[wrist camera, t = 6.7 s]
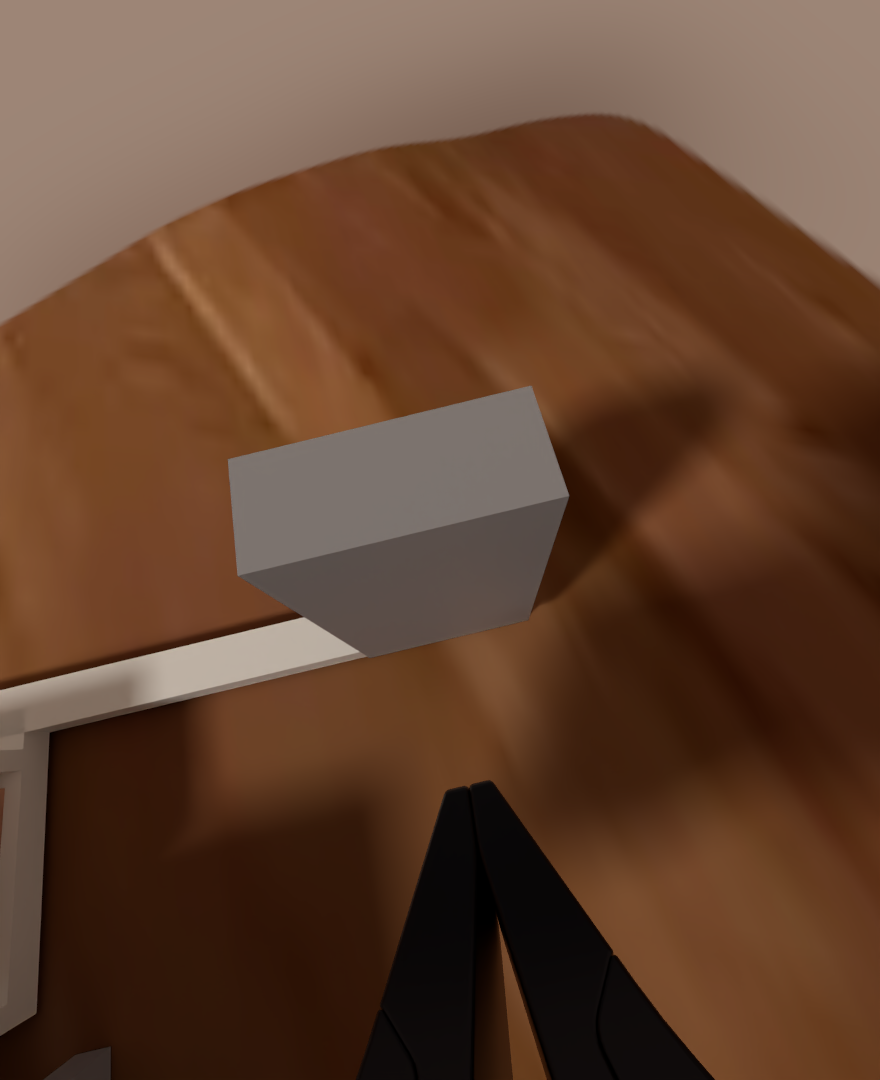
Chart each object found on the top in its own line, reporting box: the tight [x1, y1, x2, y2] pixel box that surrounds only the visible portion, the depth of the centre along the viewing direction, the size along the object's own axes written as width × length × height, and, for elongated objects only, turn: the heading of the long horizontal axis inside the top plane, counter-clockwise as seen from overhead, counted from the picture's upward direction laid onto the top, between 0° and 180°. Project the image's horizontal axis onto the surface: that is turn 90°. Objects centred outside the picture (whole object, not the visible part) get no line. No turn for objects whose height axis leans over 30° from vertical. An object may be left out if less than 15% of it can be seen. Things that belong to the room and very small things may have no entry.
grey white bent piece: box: [0, 386, 569, 1036], centre depth 12 cm, size 9×22×10 cm, turn 102°
